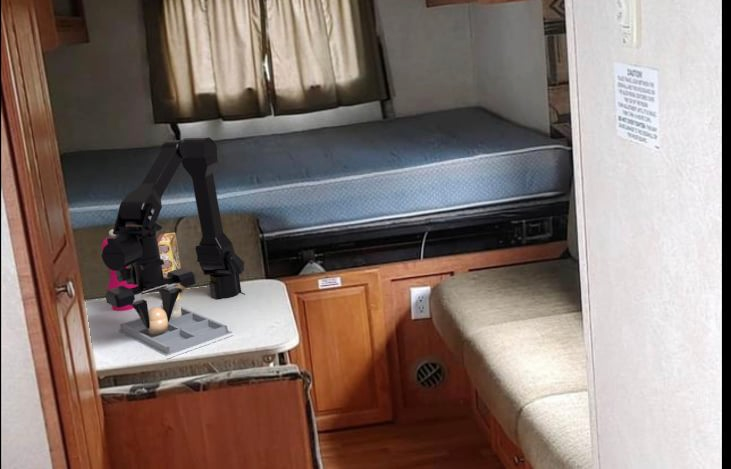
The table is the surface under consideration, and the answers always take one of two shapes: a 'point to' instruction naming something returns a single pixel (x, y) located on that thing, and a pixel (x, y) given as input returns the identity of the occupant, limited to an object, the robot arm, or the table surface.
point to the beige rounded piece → (158, 321)
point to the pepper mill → (113, 279)
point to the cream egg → (175, 310)
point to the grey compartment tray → (176, 333)
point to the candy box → (169, 255)
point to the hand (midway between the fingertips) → (157, 324)
